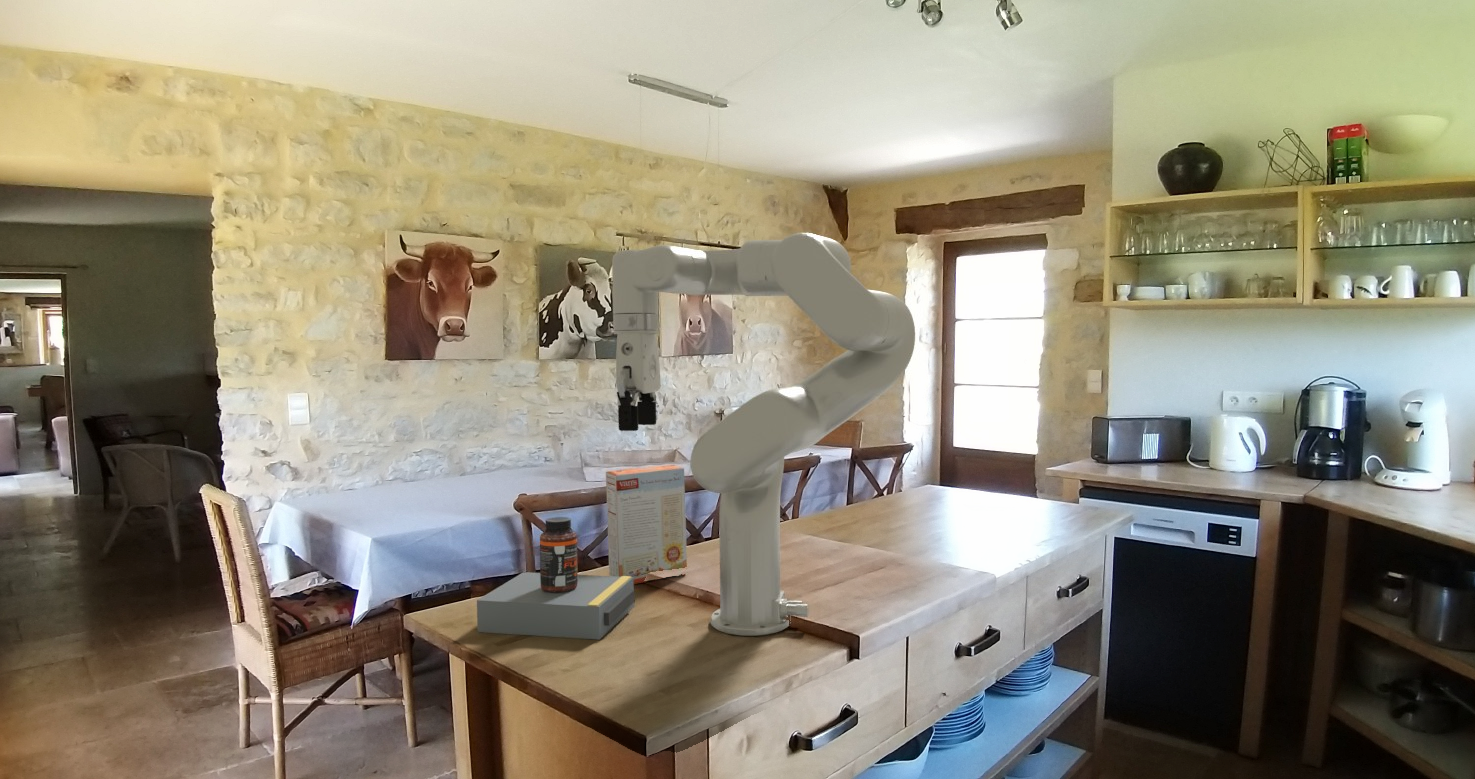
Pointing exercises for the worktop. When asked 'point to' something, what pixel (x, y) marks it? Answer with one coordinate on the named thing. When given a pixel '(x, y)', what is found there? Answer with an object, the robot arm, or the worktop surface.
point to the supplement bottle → (558, 556)
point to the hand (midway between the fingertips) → (638, 427)
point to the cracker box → (646, 520)
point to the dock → (556, 607)
